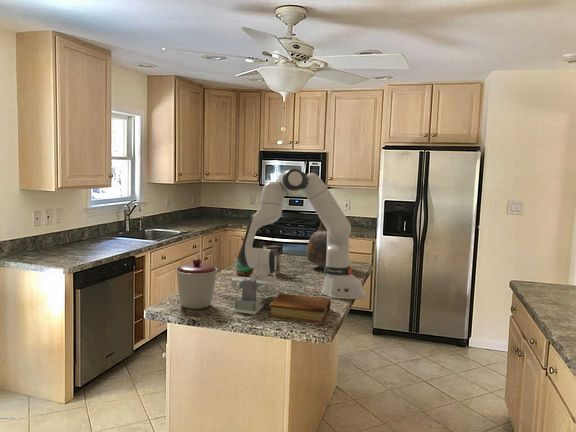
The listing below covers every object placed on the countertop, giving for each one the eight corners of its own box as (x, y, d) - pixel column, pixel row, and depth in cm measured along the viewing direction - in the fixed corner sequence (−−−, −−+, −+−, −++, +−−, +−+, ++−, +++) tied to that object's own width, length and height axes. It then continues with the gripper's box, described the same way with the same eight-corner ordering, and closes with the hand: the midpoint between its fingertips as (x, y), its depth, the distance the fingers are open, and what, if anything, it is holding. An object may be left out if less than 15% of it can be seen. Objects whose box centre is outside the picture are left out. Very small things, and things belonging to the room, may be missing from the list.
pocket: (263, 306, 209) (263, 295, 208) (255, 314, 198) (255, 302, 198) (242, 304, 211) (242, 293, 211) (233, 311, 201) (233, 300, 200)
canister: (208, 314, 196) (209, 264, 194) (167, 310, 199) (168, 261, 197) (222, 301, 214) (223, 256, 211) (184, 298, 217) (185, 253, 214)
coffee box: (266, 275, 268) (267, 247, 266) (261, 272, 273) (262, 245, 272) (280, 274, 272) (281, 246, 270) (275, 271, 278) (276, 244, 276)
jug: (348, 268, 294) (351, 220, 290) (332, 274, 276) (335, 223, 272) (314, 262, 307) (316, 217, 303) (297, 268, 289) (299, 219, 285)
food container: (230, 275, 264) (231, 258, 263) (235, 273, 269) (236, 256, 268) (250, 278, 259) (250, 260, 258) (255, 276, 265) (255, 258, 264)
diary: (329, 310, 209) (330, 298, 208) (323, 324, 191) (323, 310, 190) (279, 304, 214) (280, 292, 214) (268, 317, 196) (269, 304, 195)
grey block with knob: (255, 305, 206) (256, 277, 205) (251, 309, 202) (252, 279, 200) (245, 304, 208) (246, 276, 206) (241, 307, 203) (242, 278, 201)
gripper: (237, 272, 218) (226, 278, 205) (279, 276, 213) (271, 283, 200) (237, 285, 219) (225, 292, 206) (279, 289, 214) (270, 297, 201)
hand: (248, 288), depth 203 cm, fingers open, 8 cm apart
